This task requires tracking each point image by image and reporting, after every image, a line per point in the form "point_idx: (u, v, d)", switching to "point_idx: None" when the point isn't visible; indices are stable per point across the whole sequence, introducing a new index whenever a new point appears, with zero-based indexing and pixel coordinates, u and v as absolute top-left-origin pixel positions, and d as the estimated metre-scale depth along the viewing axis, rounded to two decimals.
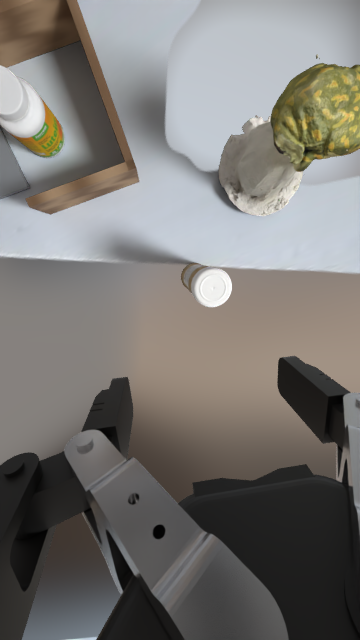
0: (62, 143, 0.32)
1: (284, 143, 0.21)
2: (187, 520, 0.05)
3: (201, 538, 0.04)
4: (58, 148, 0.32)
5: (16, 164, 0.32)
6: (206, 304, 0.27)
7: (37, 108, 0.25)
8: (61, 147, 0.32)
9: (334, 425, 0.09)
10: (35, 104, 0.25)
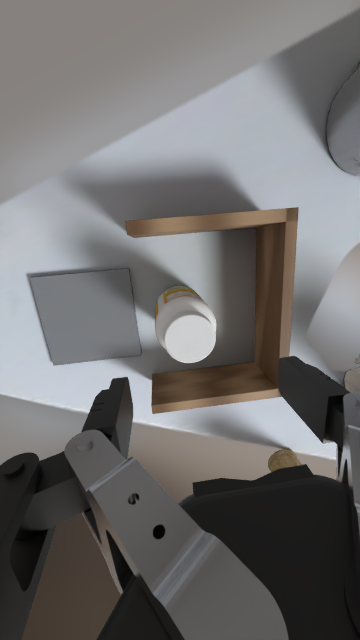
0: None
1: None
2: (187, 521, 0.05)
3: (201, 538, 0.04)
4: None
5: (136, 331, 0.27)
6: None
7: None
8: None
9: (334, 425, 0.09)
10: None
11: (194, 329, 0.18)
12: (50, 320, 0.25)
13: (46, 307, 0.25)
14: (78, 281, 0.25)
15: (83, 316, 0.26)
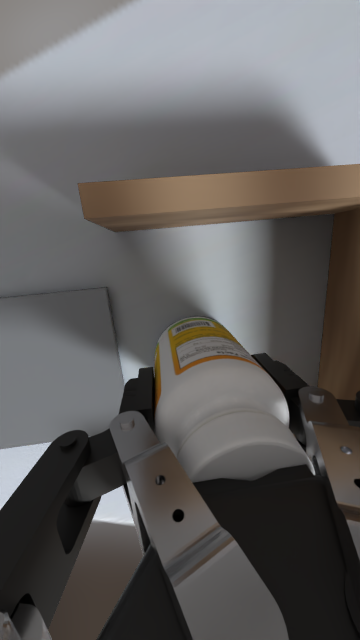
0: None
1: None
2: (208, 513, 0.05)
3: (216, 532, 0.04)
4: None
5: (122, 394, 0.16)
6: None
7: None
8: None
9: (292, 417, 0.09)
10: None
11: (263, 474, 0.06)
12: None
13: None
14: (13, 312, 0.13)
15: (27, 372, 0.14)
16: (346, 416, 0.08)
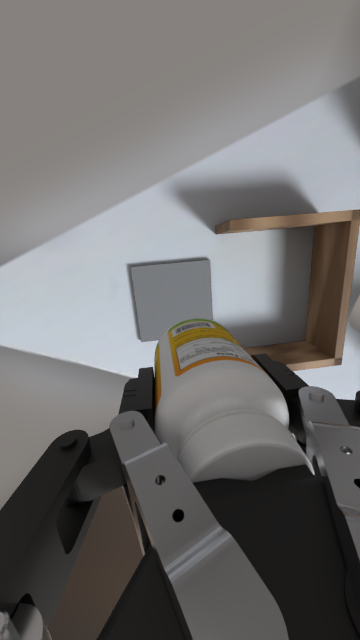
0: None
1: None
2: (208, 513, 0.05)
3: (216, 533, 0.04)
4: None
5: (211, 313, 0.32)
6: None
7: None
8: None
9: (292, 417, 0.09)
10: None
11: None
12: (143, 303, 0.31)
13: (141, 292, 0.30)
14: (169, 270, 0.30)
15: (169, 300, 0.31)
16: (346, 416, 0.08)
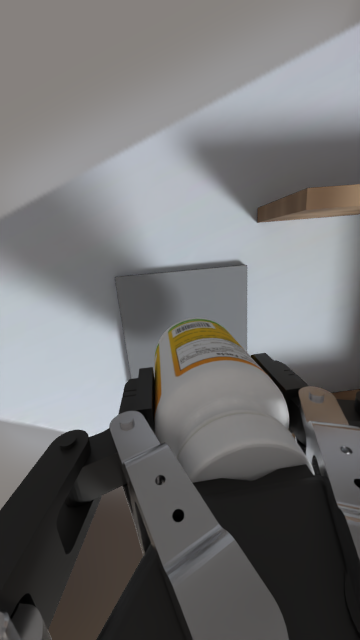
0: None
1: None
2: (208, 513, 0.05)
3: (217, 533, 0.04)
4: None
5: (245, 349, 0.20)
6: None
7: None
8: None
9: (292, 417, 0.09)
10: None
11: (262, 476, 0.06)
12: (136, 335, 0.19)
13: (133, 318, 0.18)
14: (179, 282, 0.18)
15: None
16: (346, 416, 0.08)
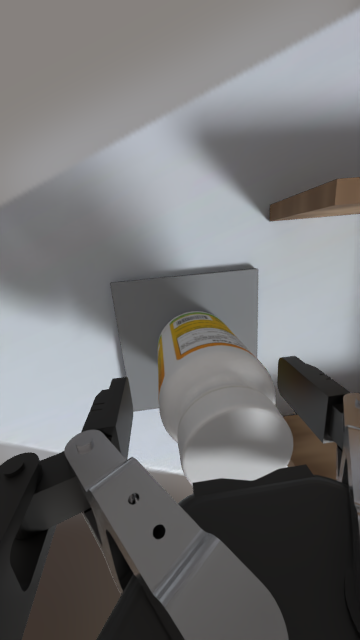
0: None
1: None
2: (187, 520, 0.05)
3: (201, 538, 0.04)
4: None
5: None
6: None
7: None
8: None
9: (334, 425, 0.09)
10: None
11: (248, 436, 0.08)
12: (134, 347, 0.17)
13: (131, 329, 0.16)
14: (182, 288, 0.16)
15: None
16: None
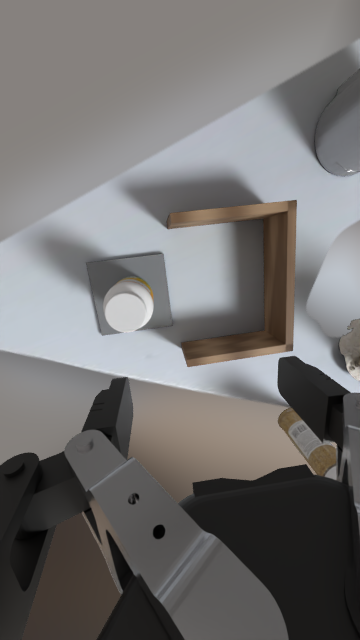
0: None
1: None
2: (187, 520, 0.05)
3: (201, 538, 0.04)
4: None
5: (169, 305, 0.33)
6: None
7: (149, 314, 0.25)
8: None
9: (334, 425, 0.09)
10: (148, 311, 0.25)
11: (127, 304, 0.23)
12: (101, 297, 0.32)
13: (98, 287, 0.31)
14: (124, 264, 0.31)
15: None
16: None
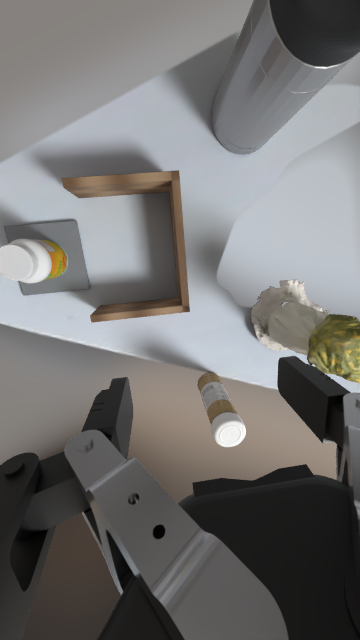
0: (64, 270, 0.35)
1: (315, 362, 0.27)
2: (187, 520, 0.05)
3: (201, 538, 0.04)
4: (59, 275, 0.35)
5: (84, 270, 0.36)
6: (221, 444, 0.32)
7: (44, 268, 0.29)
8: (62, 273, 0.35)
9: (334, 425, 0.09)
10: (43, 266, 0.29)
11: (14, 255, 0.26)
12: None
13: None
14: (39, 229, 0.34)
15: None
16: None
